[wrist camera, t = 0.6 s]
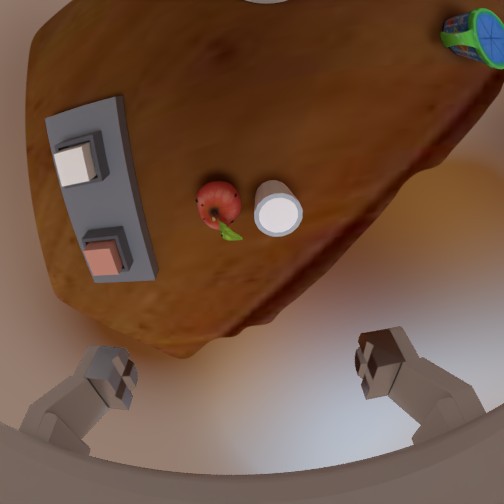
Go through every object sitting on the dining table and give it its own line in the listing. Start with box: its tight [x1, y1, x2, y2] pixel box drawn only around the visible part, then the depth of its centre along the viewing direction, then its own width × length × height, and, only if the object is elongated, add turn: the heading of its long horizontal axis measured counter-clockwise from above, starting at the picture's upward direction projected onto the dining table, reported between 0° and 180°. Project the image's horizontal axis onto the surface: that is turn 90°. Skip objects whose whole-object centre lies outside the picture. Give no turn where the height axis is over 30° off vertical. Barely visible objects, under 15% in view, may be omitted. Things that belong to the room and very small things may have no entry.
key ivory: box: [54, 142, 97, 187], centre depth 34 cm, size 5×5×3 cm
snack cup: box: [440, 8, 504, 69], centre depth 24 cm, size 16×11×10 cm
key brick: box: [83, 239, 123, 276], centre depth 42 cm, size 5×5×3 cm
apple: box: [196, 181, 243, 241], centre depth 41 cm, size 8×7×10 cm
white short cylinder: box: [254, 180, 302, 237], centre depth 43 cm, size 7×7×7 cm
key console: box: [45, 95, 158, 283], centre depth 41 cm, size 32×13×6 cm, turn 3°
